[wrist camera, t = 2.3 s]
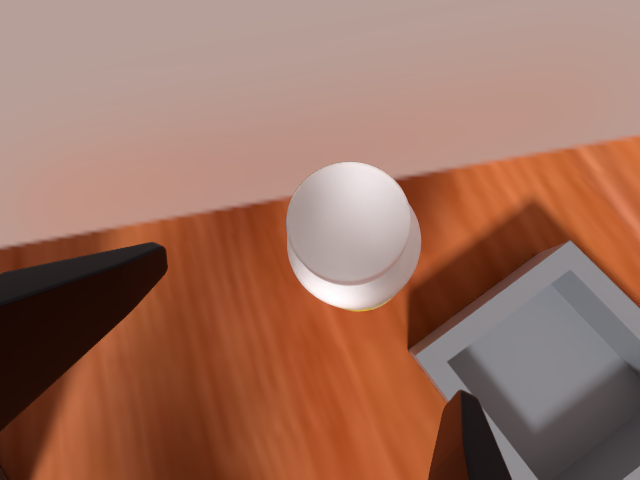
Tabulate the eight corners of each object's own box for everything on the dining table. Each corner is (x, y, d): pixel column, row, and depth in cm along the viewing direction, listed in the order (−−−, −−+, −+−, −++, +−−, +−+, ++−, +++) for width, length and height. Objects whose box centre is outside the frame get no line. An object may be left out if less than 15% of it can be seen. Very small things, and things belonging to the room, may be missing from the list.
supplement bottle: (317, 222, 21) (274, 139, 11) (405, 225, 20) (439, 138, 10) (309, 308, 19) (254, 297, 10) (402, 316, 18) (439, 312, 9)
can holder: (531, 517, 15) (569, 561, 13) (407, 350, 18) (415, 355, 15) (682, 401, 16) (752, 419, 13) (538, 252, 18) (570, 240, 15)
